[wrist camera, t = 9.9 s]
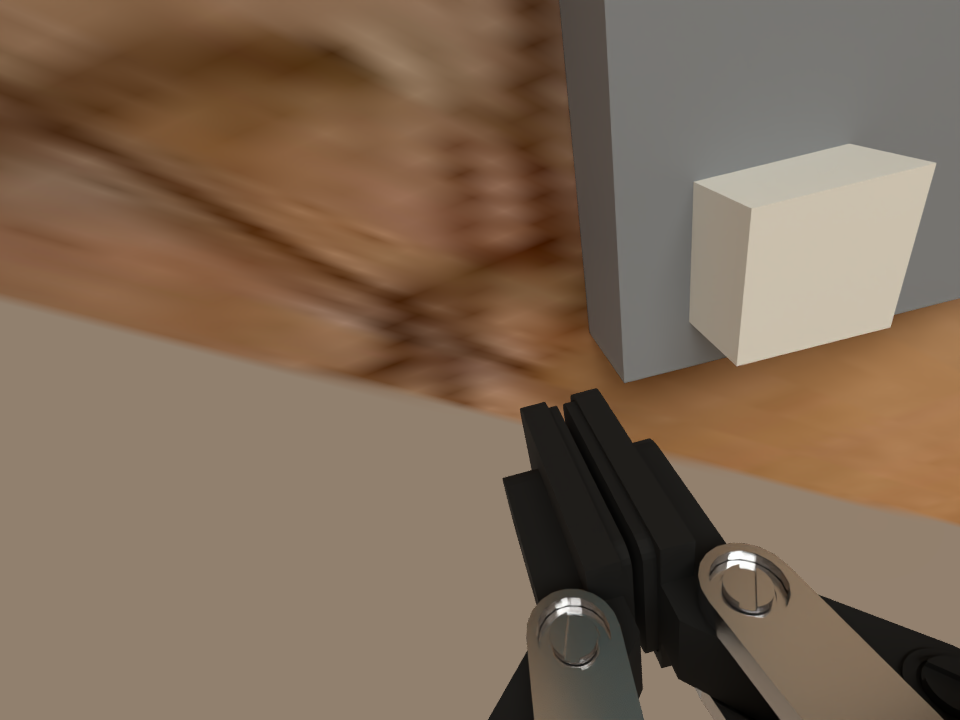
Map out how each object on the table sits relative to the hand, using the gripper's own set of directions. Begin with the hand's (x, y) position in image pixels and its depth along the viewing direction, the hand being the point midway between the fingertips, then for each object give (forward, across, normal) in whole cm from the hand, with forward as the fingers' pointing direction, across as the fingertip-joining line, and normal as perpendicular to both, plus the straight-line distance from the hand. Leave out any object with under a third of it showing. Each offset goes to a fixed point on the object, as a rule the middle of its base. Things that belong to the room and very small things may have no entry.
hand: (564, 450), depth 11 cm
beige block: (+7, -9, 0) cm, 11 cm away
